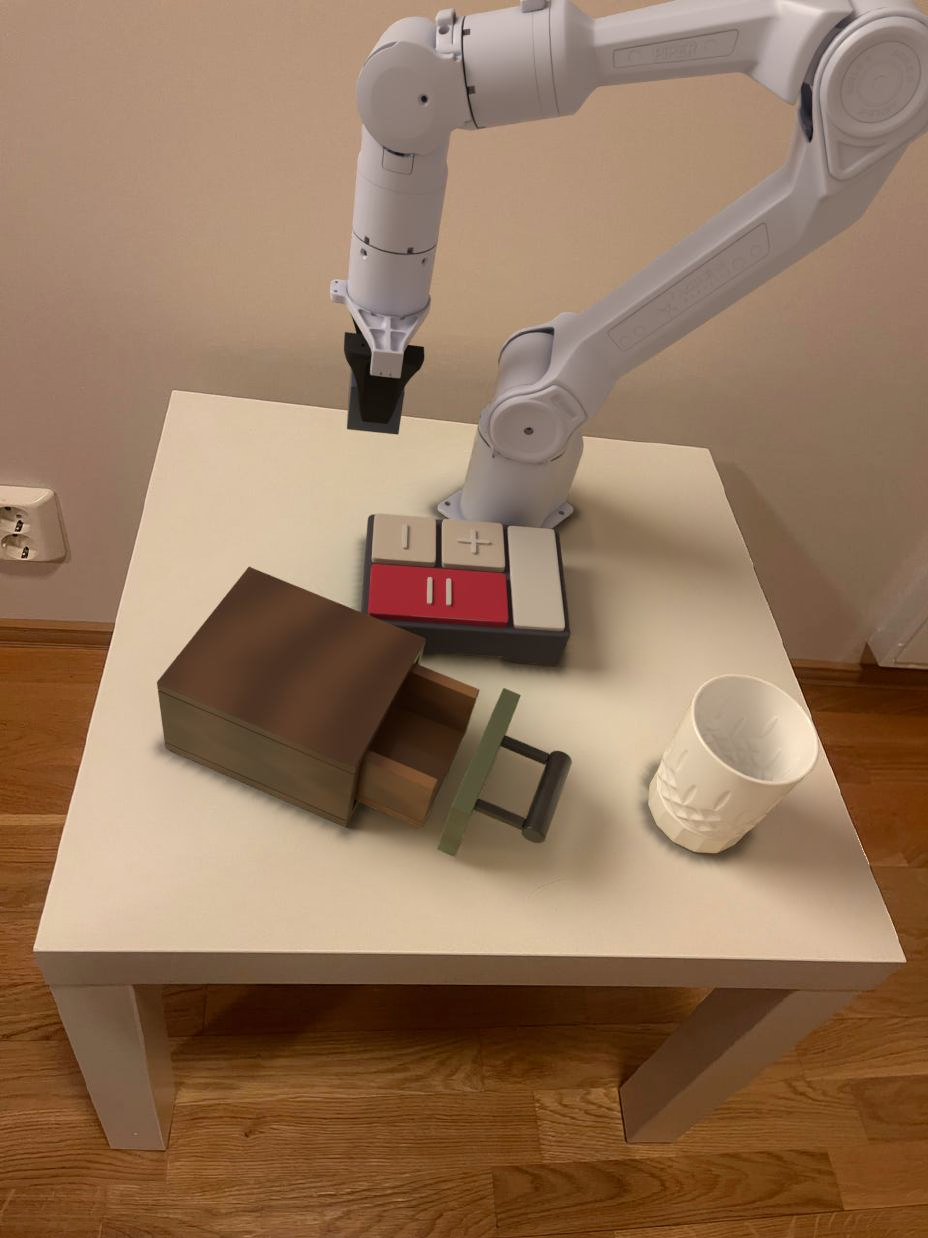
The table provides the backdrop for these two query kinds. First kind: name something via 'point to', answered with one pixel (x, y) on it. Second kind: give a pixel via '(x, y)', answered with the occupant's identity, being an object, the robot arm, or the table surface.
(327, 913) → the table surface
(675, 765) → the white cup
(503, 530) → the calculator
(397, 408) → the block
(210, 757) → the cabinet
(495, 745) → the drawer
